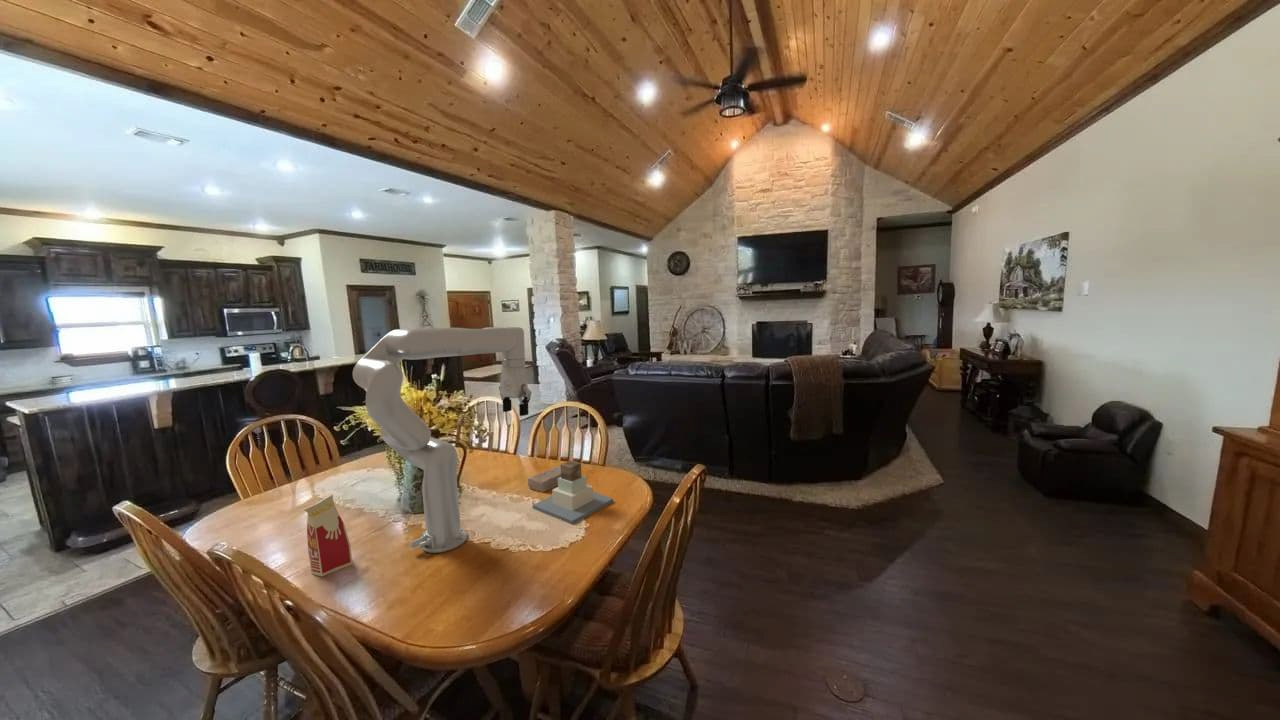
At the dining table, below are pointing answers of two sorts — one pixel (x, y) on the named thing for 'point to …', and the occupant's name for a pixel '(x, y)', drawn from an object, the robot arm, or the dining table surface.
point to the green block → (572, 484)
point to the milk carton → (327, 538)
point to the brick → (545, 479)
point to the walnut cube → (571, 470)
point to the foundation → (572, 504)
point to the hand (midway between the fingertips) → (515, 413)
